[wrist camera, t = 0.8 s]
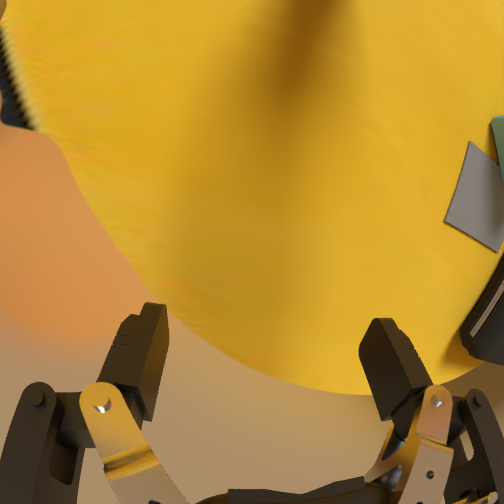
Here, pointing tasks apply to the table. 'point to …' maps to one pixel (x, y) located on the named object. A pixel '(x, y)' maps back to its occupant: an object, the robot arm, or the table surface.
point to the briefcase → (487, 323)
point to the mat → (479, 199)
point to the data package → (499, 140)
